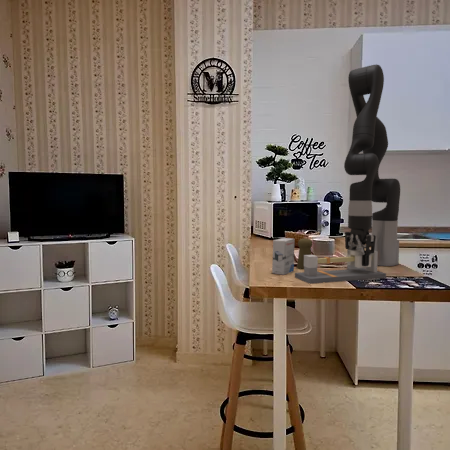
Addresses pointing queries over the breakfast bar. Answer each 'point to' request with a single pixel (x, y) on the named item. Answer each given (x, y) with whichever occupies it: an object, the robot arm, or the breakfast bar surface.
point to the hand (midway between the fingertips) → (358, 264)
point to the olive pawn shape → (303, 251)
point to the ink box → (283, 256)
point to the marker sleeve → (357, 258)
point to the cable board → (316, 276)
